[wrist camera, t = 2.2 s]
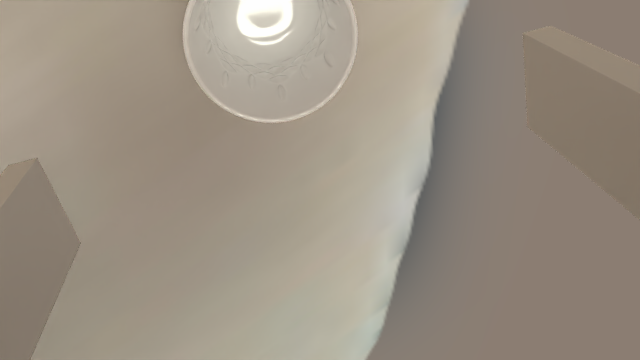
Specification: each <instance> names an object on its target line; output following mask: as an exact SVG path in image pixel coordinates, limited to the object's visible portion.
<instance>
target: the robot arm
mask: <svg viewBox="0 0 640 360" xmlns="http://www.w3.org/2000/svg"><path fill="white" fill-rule="evenodd" d="M523 49H524V68H525V87H526V108H527V126H528V128H529V129H530V130H532V131H533V132H534V133H535V134H536V135H538V136H539V137H540V138H541V139H542V140H544V141H545V142H546V143H547V144H549V145H550V146H551V147H552V148H553V149H555V150H556V151H557V152H558V153H559V154H560V155H562V156H563V157H564V158H565V159H566V160H568V161H569V162H570V163H571V164H573V165H574V166H575V167H576V168H578V169H579V170H580V171H581V172H582V173H584V174H585V175H586V176H587V177H588V178H589V179H591V180H592V181H593V182H594V183H595V184H597V185H598V186H599V187H600V188H601V189H603V190H604V191H605V192H606V193H607V194H609V195H610V196H611V197H612V198H613V199H615V200H616V201H617V202H618V203H619V204H621V205H622V206H623V207H624V208H625V209H627V210H628V211H629V212H630V213H632V214H633V215H634V216H635V217H636V218H638V219H639V220H640V65H637V64H635V63H633V62H631V61H628V60H626V59H624V58H622V57H620V56H617V55H615V54H613V53H610V52H608V51H606V50H604V49H602V48H599V47H597V46H595V45H593V44H590V43H588V42H586V41H584V40H581V39H579V38H577V37H575V36H572V35H570V34H568V33H566V32H564V31H561V30H559V29H557V28H554V27H552V26H548V27H544V28H540V29H536V30H532V31H528V32H525V33H523ZM80 244H81V242H80V240H79V238H78V236H77V234H76V232H75V231H74V229H73V227H72V225H71V223H70V221H69V219H68V217H67V215H66V213H65V211H64V209H63V207H62V205H61V203H60V201H59V199H58V197H57V195H56V194H55V192H54V190H53V188H52V186H51V184H50V182H49V180H48V178H47V176H46V174H45V172H44V170H43V168H42V166H41V164H40V162H39V160H38V159H37V158H35V159H31V160H27V161H23V162H20V163H16V164H12V165H8V167H7V168H6V169H5V170H4V172H3V173H2V174H1V175H0V360H30V359H31V356H32V354H33V352H34V349H35V347H36V345H37V343H38V340H39V338H40V336H41V333H42V331H43V329H44V326H45V324H46V322H47V320H48V317H49V315H50V313H51V310H52V308H53V306H54V304H55V301H56V299H57V297H58V294H59V292H60V290H61V287H62V285H63V283H64V281H65V278H66V276H67V274H68V271H69V269H70V267H71V265H72V262H73V260H74V258H75V255H76V253H77V251H78V248H79V246H80Z"/></svg>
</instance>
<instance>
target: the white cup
mask: <svg viewBox="0 0 640 360" xmlns="http://www.w3.org/2000/svg"><path fill="white" fill-rule="evenodd" d="M182 38H183V48H184V54H185V58H186V61H187V64H188V67H189V69H190V71H191V73H192V75H193V77H194V79H195V81H196V82H197V84H198V85H199V87H200V88H201V89H202V91H203V92H204V93H205V94H206V95H207V96H208V97H209V98H210V99H211V100H212V101H213V102H214V103H216V104H217V105H218V106H219V107H221V108H222V109H224V110H225V111H227V112H229V113H231V114H233V115H235V116H237V117H240V118H243V119H246V120H250V121H254V122H260V123H282V122H288V121H292V120H296V119H299V118H302V117H305V116H307V115H309V114H311V113H313V112H315V111H316V110H318V109H319V108H321V107H322V106H324V105H325V104H326V103H327V102H329V101H330V100H331V99H332V98H333V97H334V96H335V95H336V94H337V92H338V91H339V90H340V89H341V87H342V86H343V84H344V83H345V81H346V79H347V78H348V76H349V74H350V72H351V69H352V67H353V64H354V61H355V57H356V52H357V46H358V26H357V20H356V15H355V11H354V8H353V5H352V3H351V0H189V2H188V5H187V8H186V11H185V16H184V21H183V31H182Z"/></svg>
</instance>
